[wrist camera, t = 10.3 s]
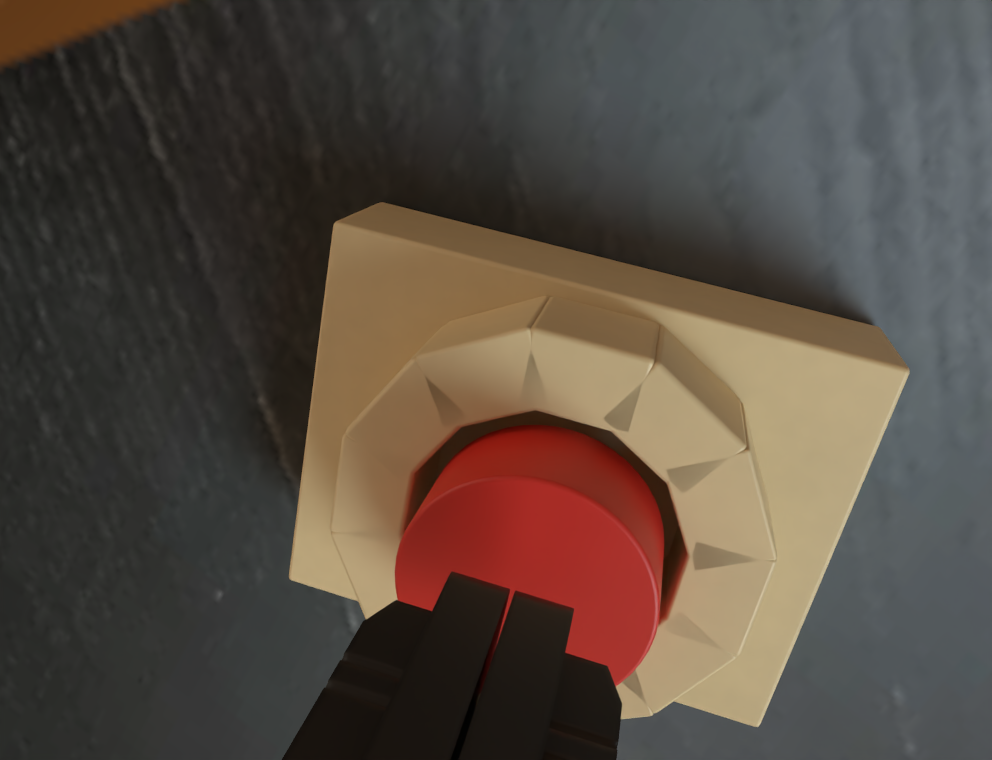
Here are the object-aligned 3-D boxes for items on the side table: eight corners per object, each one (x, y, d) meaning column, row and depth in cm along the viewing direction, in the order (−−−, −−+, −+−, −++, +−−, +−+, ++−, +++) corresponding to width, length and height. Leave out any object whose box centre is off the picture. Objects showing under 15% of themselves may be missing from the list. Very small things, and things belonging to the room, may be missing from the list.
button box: (881, 326, 14) (946, 416, 11) (751, 651, 17) (767, 812, 13) (379, 200, 15) (281, 242, 12) (331, 522, 18) (240, 639, 14)
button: (694, 462, 12) (694, 524, 10) (628, 660, 13) (620, 741, 12) (452, 394, 12) (415, 443, 11) (412, 592, 14) (375, 662, 12)
